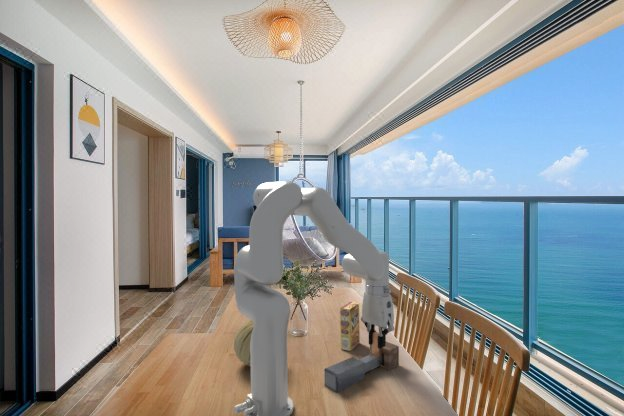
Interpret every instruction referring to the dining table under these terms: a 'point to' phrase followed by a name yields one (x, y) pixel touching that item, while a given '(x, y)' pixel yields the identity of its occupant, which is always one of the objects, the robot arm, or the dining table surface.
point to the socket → (389, 355)
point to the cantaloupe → (244, 343)
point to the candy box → (349, 326)
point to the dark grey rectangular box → (344, 374)
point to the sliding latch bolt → (373, 355)
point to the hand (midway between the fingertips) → (377, 344)
